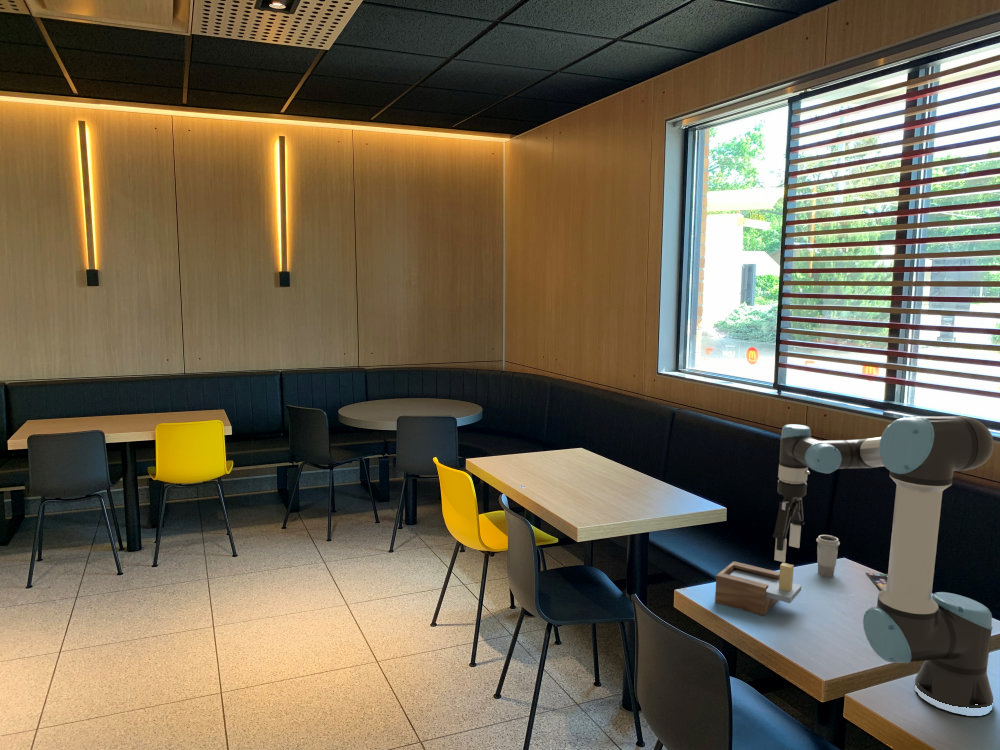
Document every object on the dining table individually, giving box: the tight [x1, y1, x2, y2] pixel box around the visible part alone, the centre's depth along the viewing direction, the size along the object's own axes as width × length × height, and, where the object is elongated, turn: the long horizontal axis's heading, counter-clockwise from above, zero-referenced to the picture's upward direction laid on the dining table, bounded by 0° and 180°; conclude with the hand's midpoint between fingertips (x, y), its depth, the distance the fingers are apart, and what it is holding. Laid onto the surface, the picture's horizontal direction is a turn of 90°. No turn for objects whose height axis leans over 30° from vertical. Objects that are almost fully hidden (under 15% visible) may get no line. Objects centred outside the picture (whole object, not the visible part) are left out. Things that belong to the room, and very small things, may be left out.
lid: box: [730, 562, 802, 604], centre depth 214 cm, size 11×19×8 cm, turn 53°
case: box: [714, 561, 780, 617], centre depth 217 cm, size 14×14×8 cm
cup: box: [815, 534, 841, 578], centre depth 237 cm, size 7×7×12 cm
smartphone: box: [865, 572, 888, 592], centre depth 231 cm, size 8×15×1 cm, turn 171°
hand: (787, 553), depth 209 cm, fingers open, 13 cm apart
